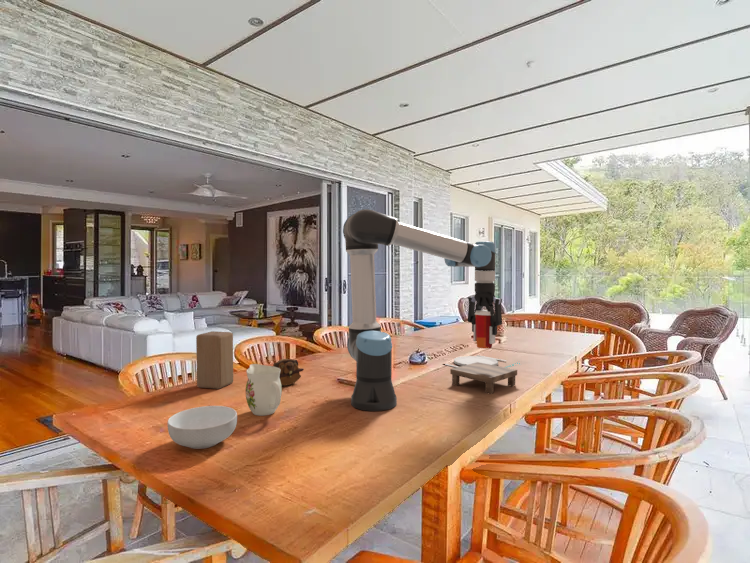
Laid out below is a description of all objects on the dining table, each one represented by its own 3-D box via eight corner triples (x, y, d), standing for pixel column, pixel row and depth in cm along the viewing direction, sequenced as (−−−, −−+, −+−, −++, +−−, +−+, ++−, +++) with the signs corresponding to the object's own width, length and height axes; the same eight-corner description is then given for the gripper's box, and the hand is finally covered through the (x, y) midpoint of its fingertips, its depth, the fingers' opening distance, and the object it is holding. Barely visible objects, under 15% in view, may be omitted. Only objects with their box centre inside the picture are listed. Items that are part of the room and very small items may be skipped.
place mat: (470, 379, 180) (470, 374, 180) (418, 366, 203) (418, 361, 203) (531, 364, 208) (531, 359, 208) (479, 354, 231) (479, 349, 231)
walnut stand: (490, 394, 156) (490, 377, 156) (450, 384, 169) (450, 368, 169) (517, 385, 168) (517, 369, 168) (477, 376, 181) (477, 362, 181)
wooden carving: (272, 391, 159) (272, 364, 159) (264, 389, 162) (264, 362, 162) (305, 381, 172) (305, 356, 172) (297, 380, 175) (297, 355, 175)
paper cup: (492, 345, 171) (493, 309, 171) (496, 349, 164) (496, 311, 163) (472, 345, 172) (473, 309, 172) (475, 348, 165) (475, 311, 164)
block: (195, 388, 163) (195, 334, 163) (211, 381, 173) (211, 330, 172) (219, 389, 161) (218, 335, 160) (234, 382, 171) (233, 331, 170)
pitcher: (262, 425, 126) (262, 377, 125) (236, 409, 139) (236, 366, 139) (295, 416, 133) (295, 371, 132) (268, 402, 147) (267, 361, 146)
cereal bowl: (158, 442, 114) (157, 415, 113) (219, 425, 125) (219, 401, 125) (183, 463, 101) (183, 433, 101) (249, 443, 113) (248, 416, 113)
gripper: (513, 282, 162) (512, 344, 163) (469, 281, 177) (468, 337, 178) (502, 283, 157) (501, 346, 158) (458, 281, 172) (457, 340, 173)
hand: (484, 342), depth 168 cm, fingers closed on paper cup, 6 cm apart
